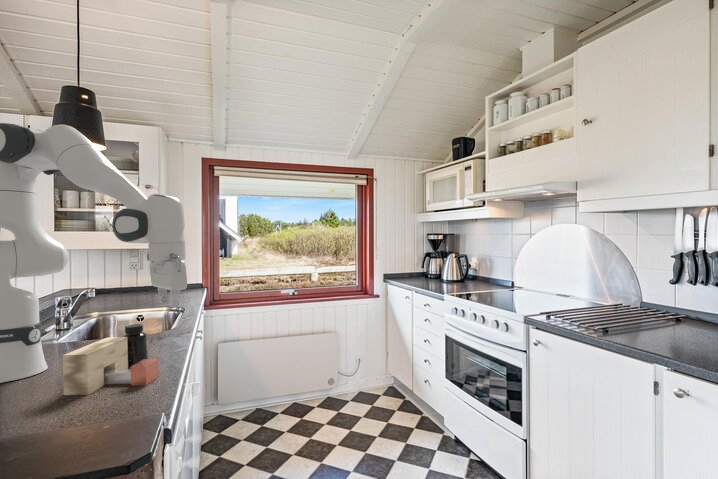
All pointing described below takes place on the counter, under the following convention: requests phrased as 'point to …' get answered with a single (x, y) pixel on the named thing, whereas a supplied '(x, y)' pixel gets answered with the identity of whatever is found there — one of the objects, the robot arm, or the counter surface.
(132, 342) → the supplement bottle
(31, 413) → the counter surface
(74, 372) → the birch block
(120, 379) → the orange and grey bar
